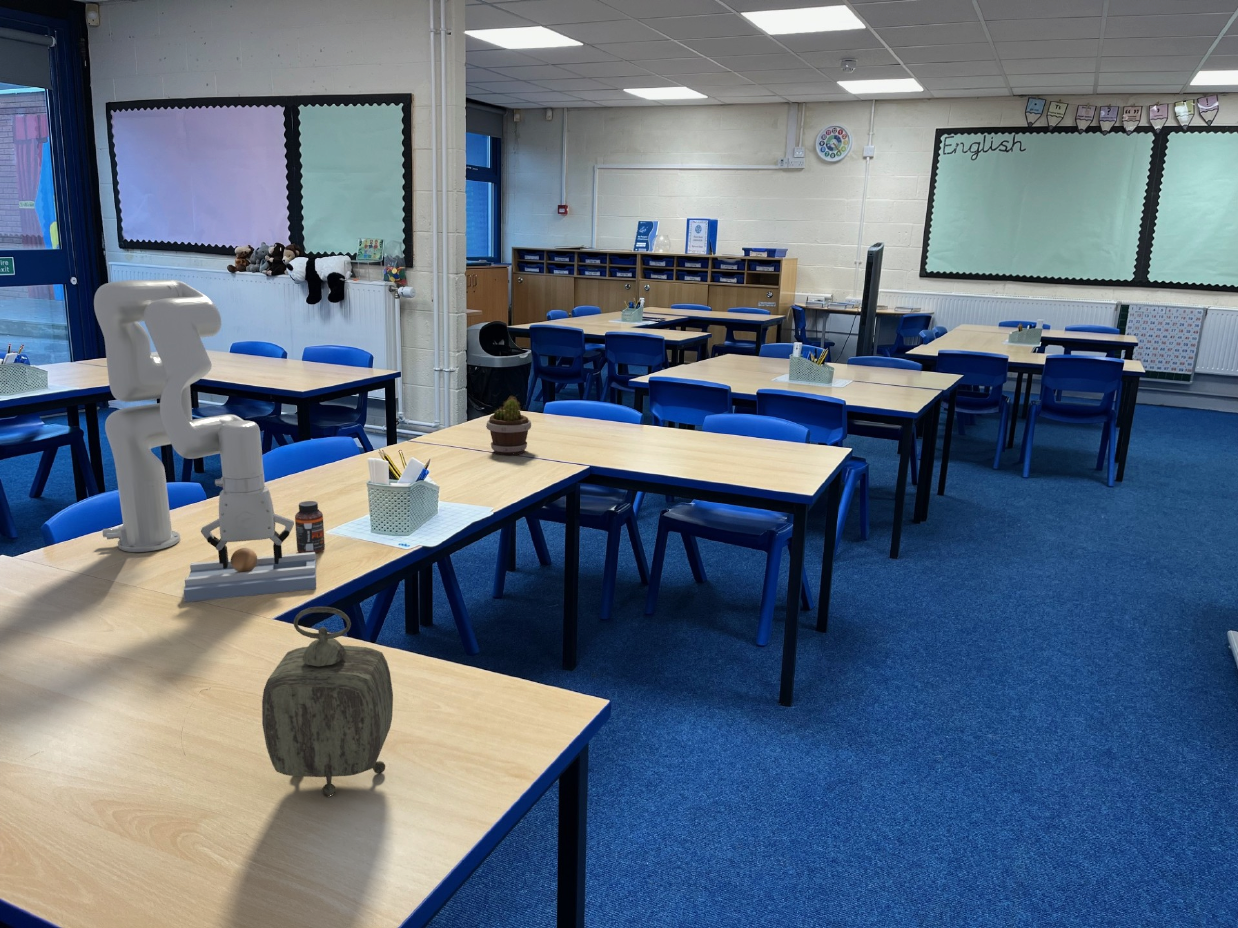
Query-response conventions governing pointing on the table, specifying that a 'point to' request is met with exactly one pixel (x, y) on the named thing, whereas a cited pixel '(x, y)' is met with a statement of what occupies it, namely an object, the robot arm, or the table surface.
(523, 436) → the flowerpot
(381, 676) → the tabletop clock
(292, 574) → the track
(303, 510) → the supplement bottle
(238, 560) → the ball
